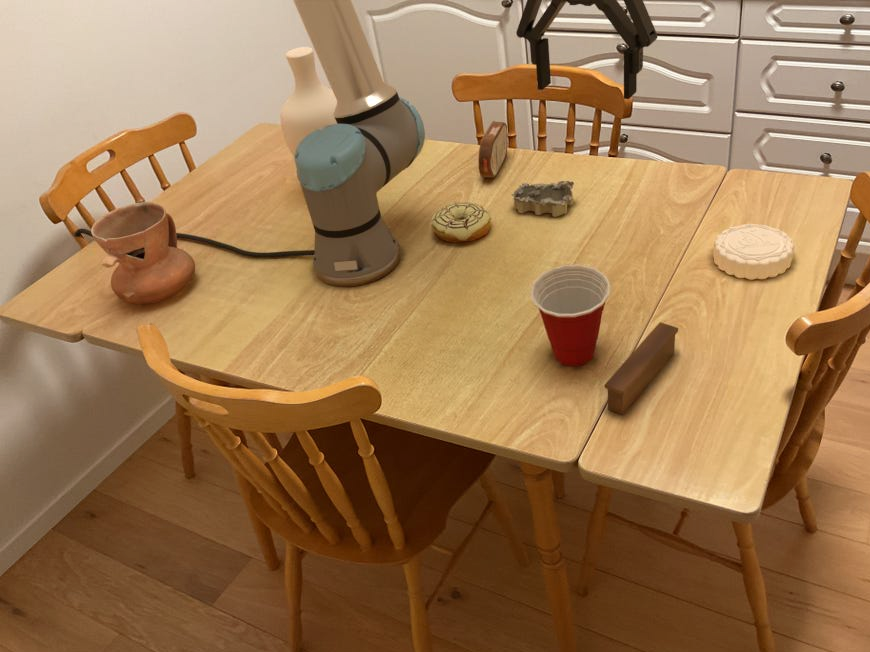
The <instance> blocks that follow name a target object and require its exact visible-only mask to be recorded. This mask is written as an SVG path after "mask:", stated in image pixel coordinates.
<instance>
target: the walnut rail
mask: <svg viewBox="0 0 870 652" xmlns="http://www.w3.org/2000/svg"><path fill="white" fill-rule="evenodd" d="M678 332H679V327H677V326H673V325H670V324H667V323H664V322H661V321H660V322H658V323H657V325H656V326H655V327H654V328H653V329H652V330H651V332H650V333H649V334H648V335H647V336H646V337H645V338H644V339H643V340H642V342H641V343H640V344H639V345H638V346H637V347H636V348H635V349H634V351H633V352H632V353H631V354H630V355H629V356H628V358H626V360H625V361H624V362H623V363H622V364H621V365H620V366H619V368H618V369H617V370H616V371H615V372H614V373H613V374H612V375H611V376H610V377H609V379H608V380H607V381H606V382H605V383H604V389H606V390H607V410H609V411H610V412H613V413H615V414H619V415H620V416H624V414H625V413H626V412H627V410H628V409H629V408H630V407H631V406H632V404H633V403H634V402H635V401H636V400H637V399H638V397H639V396H641V394H642V392H644V390H645V389H646V388H647V386H648V385H649V384H650V383H651V382H652V380H653V379H655V377H656V376H657V375H658V373H659V372H660V371H661V370H662V369H663V367H665V365H666V364H667V363H668V362H669V360H670V359H671V358H672V356H673V355H675V345H676V334H678Z"/></svg>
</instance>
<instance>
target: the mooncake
mask: <svg viewBox="0 0 870 652" xmlns="http://www.w3.org/2000/svg"><path fill="white" fill-rule="evenodd" d="M794 249H795V245H794V243H793V239H792V238H791V237H789V236H788V234H787V233H786V232H785V231H782V230H780V229H779V228H777V227H771V226H769V225H766V224H765V225H764V224H763V223H762V224H757V223H748V224H744V223H743V224H740V225H739V226H738V225H737V226H736V225H734V226H731V227H729V228H728V229H724V230H722V231H721V233H719V234H717V236H716V238H715V240H714V242H713V252H712V253H713V254H712V257H713V260H714V261H713V262H714V264H715V265H716V266H717V267H718V269H719V270H721V271H723V272H725V274H727V275H730V276H734V277H735V278H737V279H744V278H745V279H746V280H751V281H752V280H757V279H758V280H766V279H767V278H776V277H777V276H778V275H780V274H781V275H782V274H784V273H785V272H786V270H787V269H789V268H790V267H791V265H792V262H793V256H794V251H795V250H794Z"/></svg>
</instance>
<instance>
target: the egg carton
mask: <svg viewBox="0 0 870 652" xmlns="http://www.w3.org/2000/svg"><path fill="white" fill-rule="evenodd" d="M574 186H575V183H574V181H570V180H561V181H558V183H554V182H550V183H546V184H545V183H542V182H541V183H535V184H534V183H533V184H529V183H526V182H525V183H524V182H523V183H522V185H519V187H518V188H516V190H514V191H513V193H512V194H511V196H512V197H513V203H514V205H513V206H514V209H516V210H517V212H518V213H519V214H524V213H526V212H534V215H536V216H541V215H543V214H551V215H552V217H553V218H557V217H559V216H562V215H566V214H567V213H568V207H569V206H570V207H571V206H572V205H573V204H574V198H573V197H574V195H573V191H572V190H573V188H574Z"/></svg>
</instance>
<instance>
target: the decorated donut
mask: <svg viewBox="0 0 870 652" xmlns="http://www.w3.org/2000/svg"><path fill="white" fill-rule="evenodd" d="M491 220H492V216H491V214H490V212H489V211H488V209H486V207H484V206H482V205H479V204H478V203H473V202H465V201H464V202H462V201H461V202H454V203H450V204H447V205H445V206H442V207H441V208H439V209H438V210H437V211H436V212H434V214H433V215H432V216H431V217H430V222H431V229H432V230H433V231H434V233H435V234H436V235H437V236H438V237H439V238H440V239H442V240H444V241H446V242H449V243H451V242H452V243H461V242H463V243H464V242H469V243H470V242H472V241H475V240H478V239H480V238H481V237H484V236H485V235H487V234H488V233H489V232H488V231H489V229H490V227H491Z"/></svg>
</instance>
